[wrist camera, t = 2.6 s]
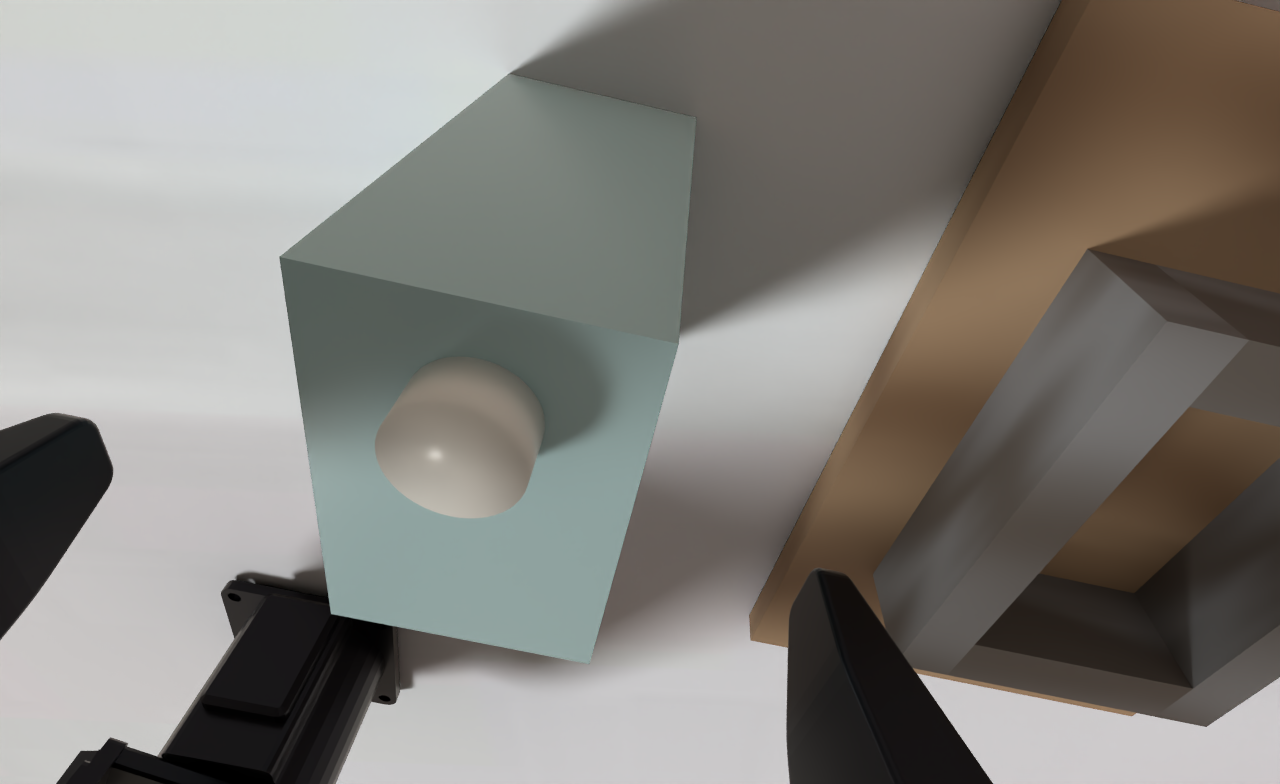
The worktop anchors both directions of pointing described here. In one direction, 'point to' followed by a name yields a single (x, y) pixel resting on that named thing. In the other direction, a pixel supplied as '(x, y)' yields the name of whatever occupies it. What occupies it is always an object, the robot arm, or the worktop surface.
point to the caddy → (1085, 387)
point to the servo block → (493, 364)
